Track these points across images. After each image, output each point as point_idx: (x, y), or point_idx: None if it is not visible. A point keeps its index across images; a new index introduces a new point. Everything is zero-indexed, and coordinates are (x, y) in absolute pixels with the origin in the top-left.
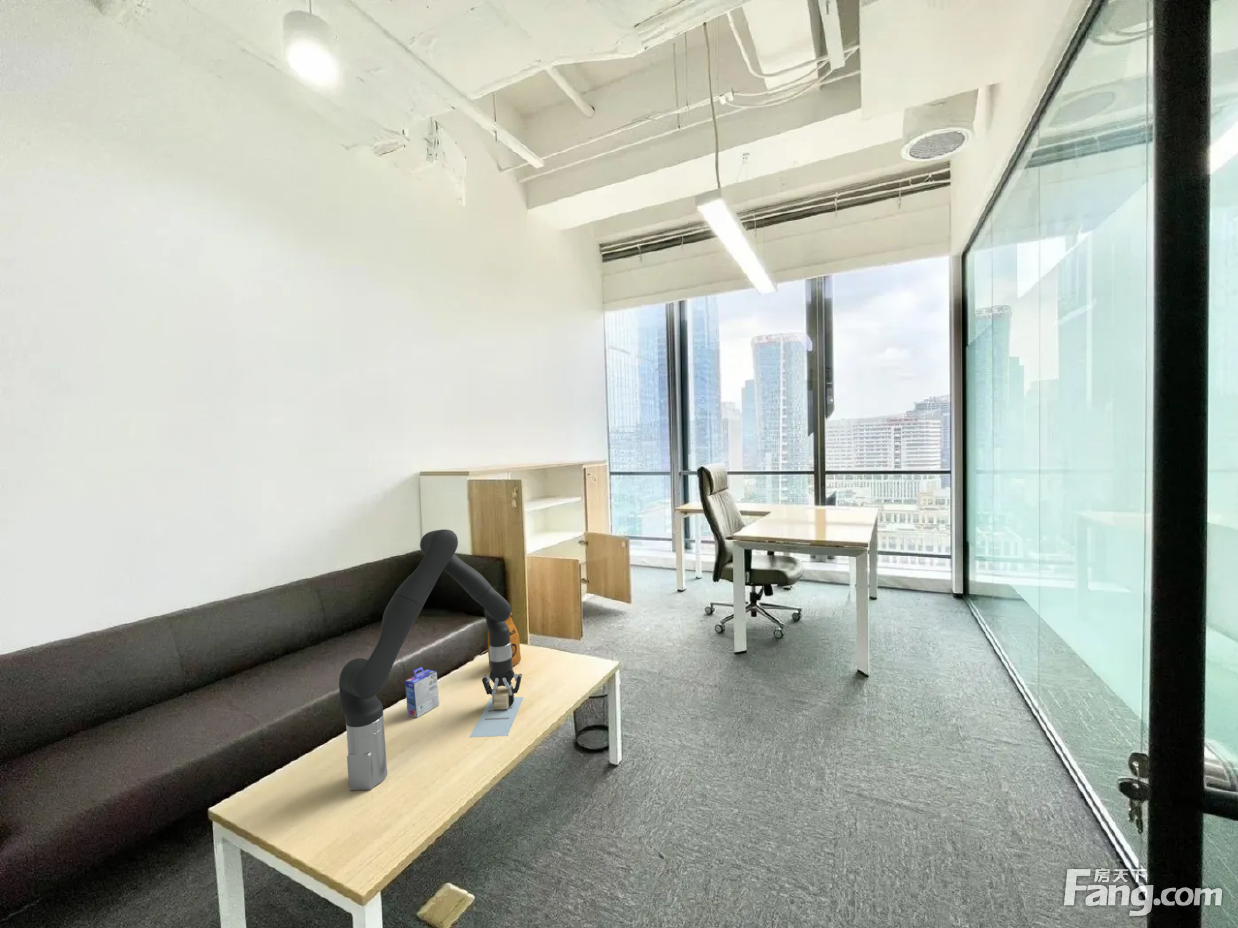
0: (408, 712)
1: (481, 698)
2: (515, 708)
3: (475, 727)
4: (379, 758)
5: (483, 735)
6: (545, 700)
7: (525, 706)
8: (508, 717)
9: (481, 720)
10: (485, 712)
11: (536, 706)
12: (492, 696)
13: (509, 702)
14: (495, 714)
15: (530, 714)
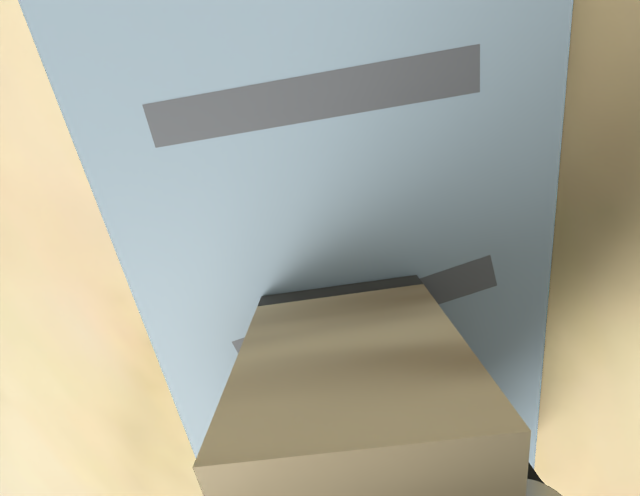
0: None
1: (604, 487)
2: (192, 341)
3: None
4: None
5: None
6: (61, 488)
7: (174, 409)
8: (169, 148)
9: (520, 31)
10: (515, 240)
11: (78, 414)
12: (532, 473)
13: None
14: (371, 204)
15: (49, 298)
